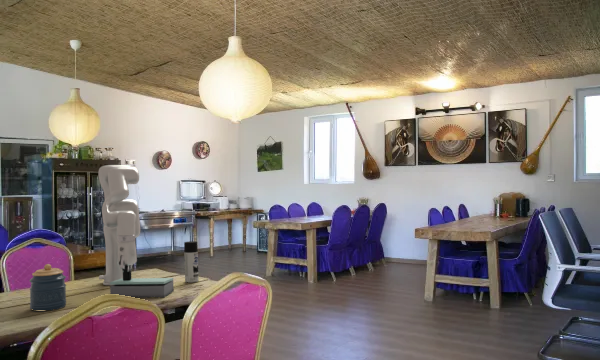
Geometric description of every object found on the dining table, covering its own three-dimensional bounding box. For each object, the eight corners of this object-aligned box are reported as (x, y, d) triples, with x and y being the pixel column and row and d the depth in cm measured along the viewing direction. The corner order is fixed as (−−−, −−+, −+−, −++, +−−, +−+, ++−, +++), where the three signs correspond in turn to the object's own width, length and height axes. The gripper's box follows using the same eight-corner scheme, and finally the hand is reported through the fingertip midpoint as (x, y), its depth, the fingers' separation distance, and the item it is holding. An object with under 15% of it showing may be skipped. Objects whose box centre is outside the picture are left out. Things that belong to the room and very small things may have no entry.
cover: (110, 284, 204) (110, 282, 204) (122, 280, 216) (122, 278, 216) (164, 283, 202) (164, 281, 202) (173, 280, 214) (173, 277, 214)
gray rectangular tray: (110, 298, 204) (110, 286, 204) (122, 291, 215) (122, 280, 216) (164, 297, 202) (164, 285, 202) (173, 291, 214) (173, 280, 214)
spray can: (195, 283, 232) (194, 242, 232) (182, 282, 233) (181, 242, 234) (200, 280, 239) (199, 241, 239) (188, 280, 240) (187, 241, 240)
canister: (27, 313, 180) (27, 267, 180) (32, 306, 192) (31, 263, 192) (65, 309, 185) (64, 264, 186) (67, 302, 197) (66, 260, 197)
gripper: (127, 240, 202) (128, 283, 201) (141, 237, 217) (142, 277, 216) (110, 241, 202) (111, 283, 202) (125, 237, 217) (126, 277, 217)
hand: (127, 280), depth 209 cm, fingers closed
